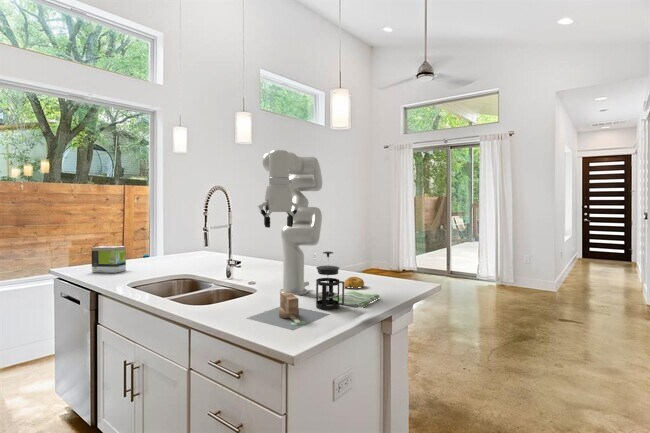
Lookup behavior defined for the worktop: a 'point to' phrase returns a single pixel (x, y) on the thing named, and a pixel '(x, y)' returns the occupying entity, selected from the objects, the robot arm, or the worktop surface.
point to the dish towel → (356, 299)
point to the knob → (289, 306)
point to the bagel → (354, 282)
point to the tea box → (108, 259)
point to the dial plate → (288, 323)
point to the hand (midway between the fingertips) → (278, 226)
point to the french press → (325, 294)
